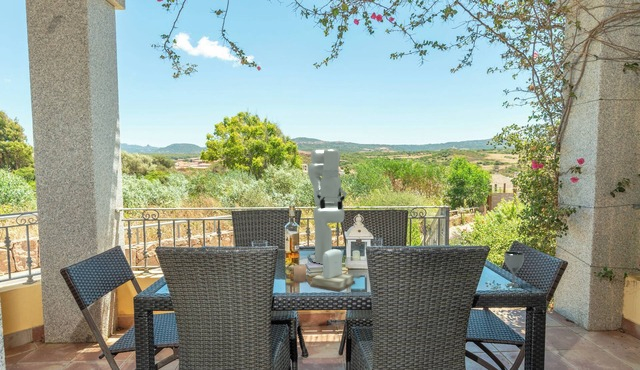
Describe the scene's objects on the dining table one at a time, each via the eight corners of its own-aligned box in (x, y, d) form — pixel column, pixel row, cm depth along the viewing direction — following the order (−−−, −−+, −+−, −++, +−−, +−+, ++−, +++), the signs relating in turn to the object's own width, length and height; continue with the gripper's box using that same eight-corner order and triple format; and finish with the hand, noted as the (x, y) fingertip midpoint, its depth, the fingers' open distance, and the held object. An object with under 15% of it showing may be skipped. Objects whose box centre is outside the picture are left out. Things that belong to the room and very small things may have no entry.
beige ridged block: (327, 278, 204) (327, 270, 204) (355, 283, 196) (355, 274, 196) (310, 286, 192) (310, 277, 191) (339, 291, 184) (339, 282, 184)
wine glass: (524, 284, 193) (525, 252, 192) (521, 289, 186) (522, 255, 185) (505, 282, 197) (506, 250, 196) (502, 286, 191) (502, 253, 190)
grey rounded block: (328, 279, 189) (328, 252, 188) (321, 277, 192) (321, 250, 191) (343, 274, 196) (343, 248, 196) (336, 273, 199) (336, 247, 199)
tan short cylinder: (298, 278, 205) (298, 264, 205) (308, 280, 202) (308, 265, 202) (291, 281, 200) (291, 266, 200) (301, 283, 197) (301, 268, 197)
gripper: (312, 174, 209) (312, 208, 210) (342, 174, 200) (342, 210, 201) (320, 174, 216) (320, 207, 217) (350, 174, 207) (350, 209, 207)
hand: (331, 208), depth 209 cm, fingers open, 9 cm apart
